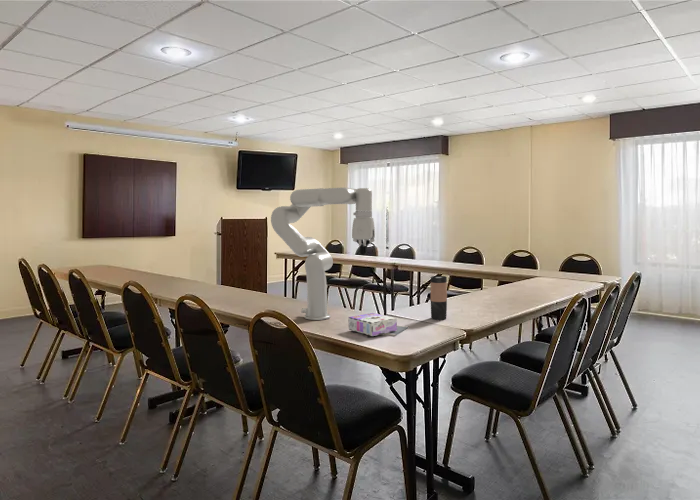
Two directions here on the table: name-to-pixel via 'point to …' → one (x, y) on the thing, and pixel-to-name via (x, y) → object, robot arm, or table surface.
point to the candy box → (372, 324)
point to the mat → (399, 330)
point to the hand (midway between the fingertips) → (363, 254)
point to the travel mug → (438, 297)
